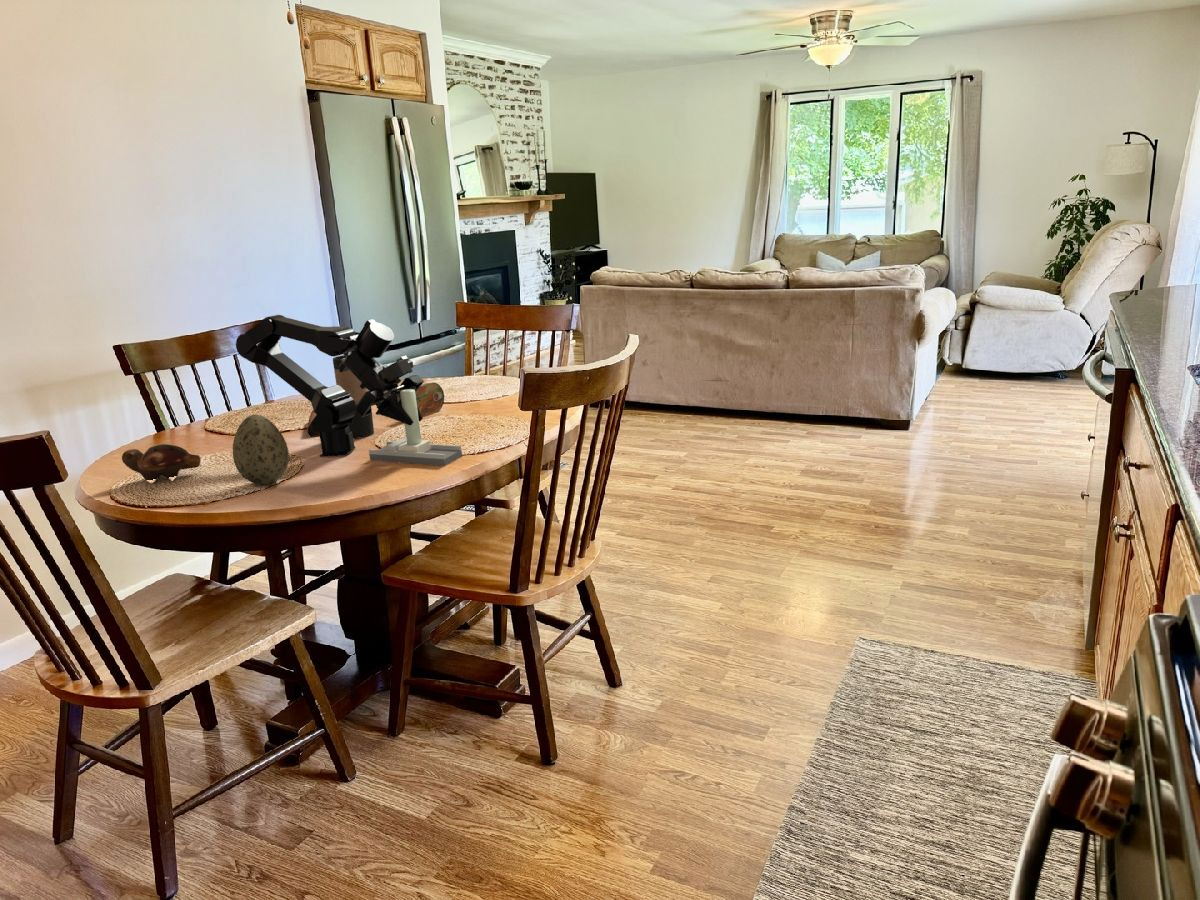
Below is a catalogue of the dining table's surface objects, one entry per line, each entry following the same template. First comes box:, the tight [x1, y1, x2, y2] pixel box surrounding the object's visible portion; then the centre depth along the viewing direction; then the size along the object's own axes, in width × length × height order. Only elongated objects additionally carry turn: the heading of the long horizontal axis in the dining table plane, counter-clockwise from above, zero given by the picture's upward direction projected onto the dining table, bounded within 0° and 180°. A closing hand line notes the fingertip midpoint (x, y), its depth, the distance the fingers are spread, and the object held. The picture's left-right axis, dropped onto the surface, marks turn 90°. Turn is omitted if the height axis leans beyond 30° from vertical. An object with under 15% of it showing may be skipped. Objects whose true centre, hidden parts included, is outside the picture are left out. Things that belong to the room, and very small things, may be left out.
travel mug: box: [332, 354, 375, 439], centre depth 207 cm, size 8×8×20 cm
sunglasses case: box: [306, 409, 320, 438], centre depth 219 cm, size 18×7×7 cm
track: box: [368, 438, 463, 467], centre depth 185 cm, size 20×7×4 cm, turn 67°
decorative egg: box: [232, 414, 290, 485], centre depth 173 cm, size 11×11×15 cm
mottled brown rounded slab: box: [415, 381, 445, 418], centre depth 225 cm, size 15×3×8 cm, turn 148°
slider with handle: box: [398, 389, 432, 453], centre depth 183 cm, size 5×5×14 cm
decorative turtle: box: [121, 443, 201, 481], centre depth 182 cm, size 10×15×8 cm, turn 120°
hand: (416, 422), depth 183 cm, fingers closed on slider with handle, 3 cm apart
